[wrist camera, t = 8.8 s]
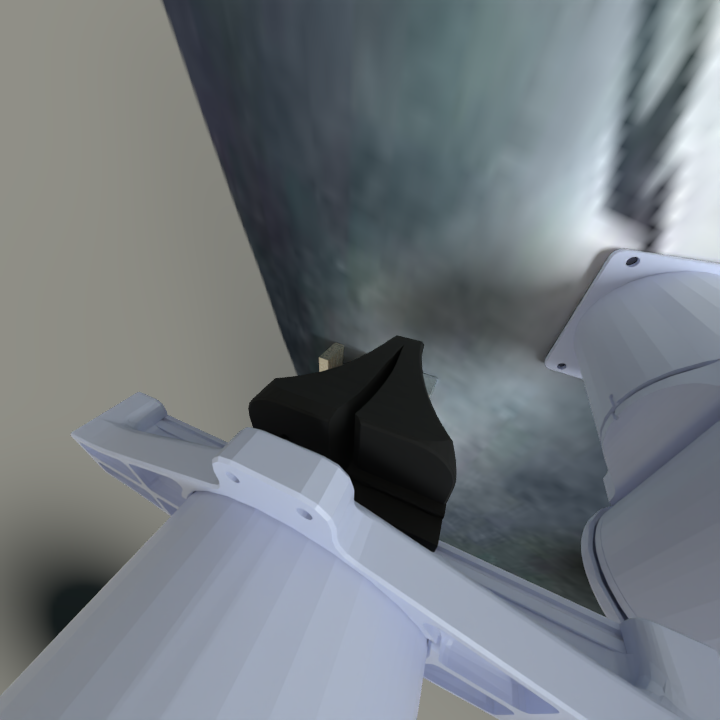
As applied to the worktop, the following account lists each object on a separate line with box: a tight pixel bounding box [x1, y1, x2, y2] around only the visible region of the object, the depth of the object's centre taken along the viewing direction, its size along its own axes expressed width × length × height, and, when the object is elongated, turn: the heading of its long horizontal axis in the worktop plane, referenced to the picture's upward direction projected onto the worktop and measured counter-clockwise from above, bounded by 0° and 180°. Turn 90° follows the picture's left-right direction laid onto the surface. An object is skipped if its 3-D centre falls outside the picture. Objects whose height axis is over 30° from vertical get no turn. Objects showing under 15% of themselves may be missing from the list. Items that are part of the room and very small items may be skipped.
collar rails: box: [319, 342, 437, 398], centre depth 28 cm, size 11×11×3 cm
